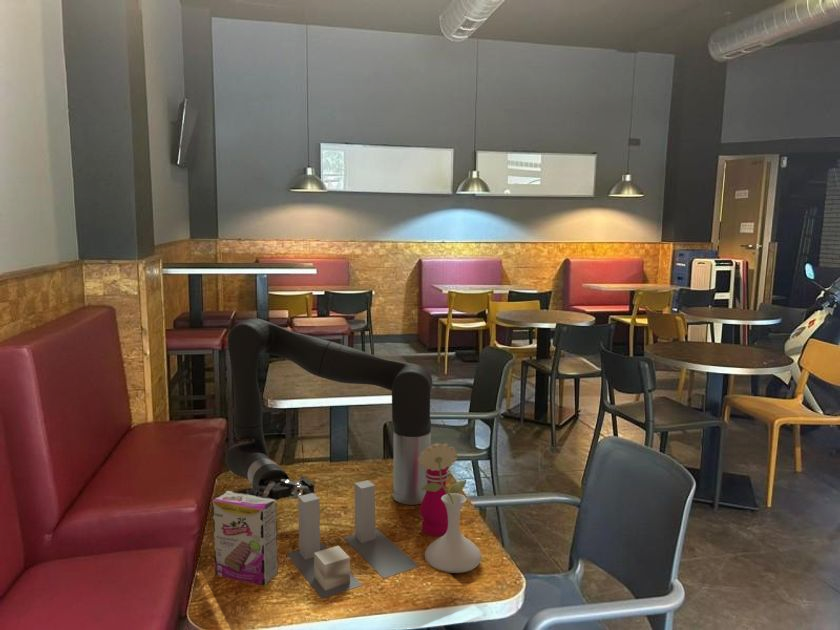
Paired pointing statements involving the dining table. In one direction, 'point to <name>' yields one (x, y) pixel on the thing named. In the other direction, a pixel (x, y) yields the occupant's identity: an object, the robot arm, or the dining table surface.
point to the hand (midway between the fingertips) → (292, 504)
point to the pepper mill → (435, 505)
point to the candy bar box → (245, 537)
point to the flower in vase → (449, 517)
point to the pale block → (331, 567)
